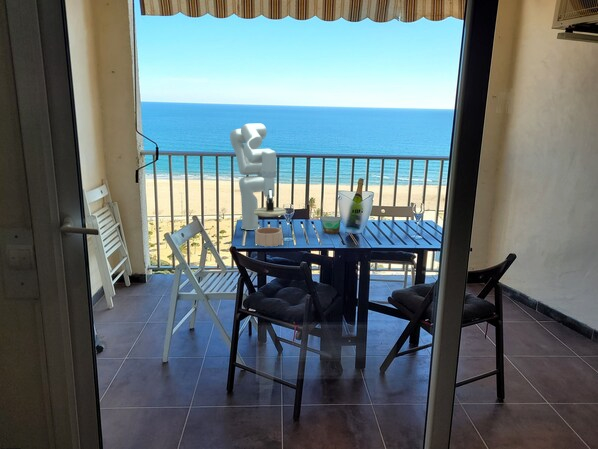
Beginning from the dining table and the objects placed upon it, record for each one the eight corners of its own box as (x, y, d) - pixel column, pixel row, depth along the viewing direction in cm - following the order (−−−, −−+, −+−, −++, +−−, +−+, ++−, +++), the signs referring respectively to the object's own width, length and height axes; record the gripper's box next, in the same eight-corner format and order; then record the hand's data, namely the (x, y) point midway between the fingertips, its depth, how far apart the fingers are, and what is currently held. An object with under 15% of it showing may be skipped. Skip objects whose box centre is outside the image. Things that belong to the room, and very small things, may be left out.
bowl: (255, 239, 243) (254, 227, 242) (280, 238, 245) (280, 226, 243) (256, 247, 230) (255, 234, 228) (283, 246, 232) (282, 233, 230)
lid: (253, 209, 240) (252, 198, 239) (284, 208, 243) (283, 197, 241) (255, 217, 224) (254, 205, 223) (288, 216, 227) (287, 204, 225)
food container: (319, 234, 254) (319, 217, 251) (320, 231, 259) (320, 214, 257) (341, 234, 252) (341, 217, 249) (341, 232, 258) (342, 215, 255)
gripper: (260, 172, 236) (261, 205, 241) (263, 177, 220) (264, 212, 225) (274, 172, 237) (275, 205, 242) (278, 176, 221) (278, 212, 226)
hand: (270, 208), depth 233 cm, fingers closed on lid, 4 cm apart
